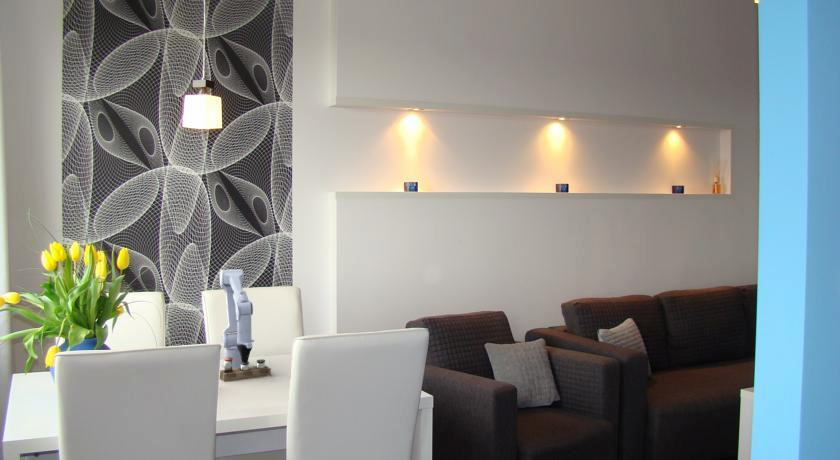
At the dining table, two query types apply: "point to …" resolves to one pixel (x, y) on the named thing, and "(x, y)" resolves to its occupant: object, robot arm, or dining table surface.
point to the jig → (244, 373)
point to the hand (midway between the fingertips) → (244, 362)
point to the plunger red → (228, 364)
